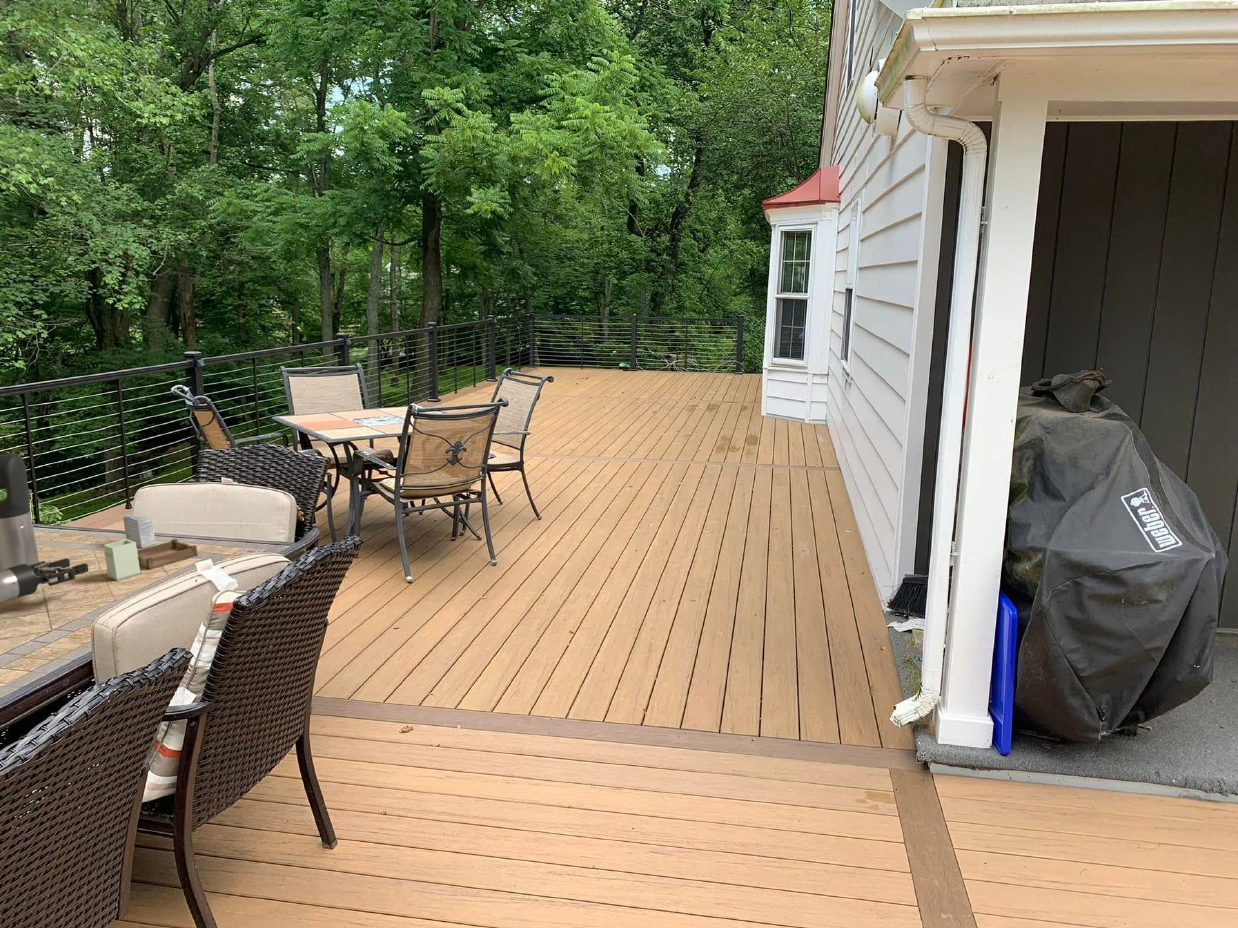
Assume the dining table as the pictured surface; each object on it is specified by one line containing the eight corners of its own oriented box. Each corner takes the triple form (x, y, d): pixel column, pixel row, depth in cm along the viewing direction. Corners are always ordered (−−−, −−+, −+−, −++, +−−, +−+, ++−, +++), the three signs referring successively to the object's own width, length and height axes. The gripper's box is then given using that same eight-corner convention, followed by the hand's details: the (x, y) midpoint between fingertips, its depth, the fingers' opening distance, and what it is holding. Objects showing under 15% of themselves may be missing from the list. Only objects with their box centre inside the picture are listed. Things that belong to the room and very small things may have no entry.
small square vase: (107, 577, 238) (102, 545, 236) (132, 570, 243) (127, 538, 241) (116, 581, 235) (111, 548, 233) (141, 574, 240) (136, 542, 238)
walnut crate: (129, 561, 250) (127, 551, 249) (176, 548, 260) (175, 538, 260) (149, 569, 243) (147, 559, 242) (197, 555, 254) (196, 545, 253)
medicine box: (156, 544, 265) (152, 516, 263) (141, 548, 261) (137, 520, 259) (141, 540, 269) (137, 512, 267) (126, 544, 266) (122, 516, 264)
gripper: (21, 573, 210) (91, 554, 223) (-9, 564, 217) (60, 546, 230) (27, 603, 211) (96, 582, 225) (-4, 594, 219) (65, 574, 232)
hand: (77, 564), depth 228 cm, fingers open, 8 cm apart
